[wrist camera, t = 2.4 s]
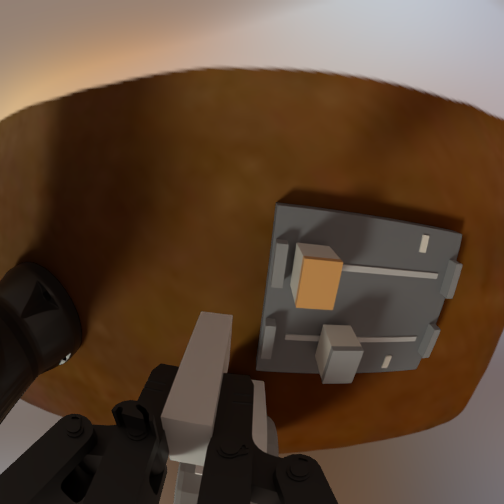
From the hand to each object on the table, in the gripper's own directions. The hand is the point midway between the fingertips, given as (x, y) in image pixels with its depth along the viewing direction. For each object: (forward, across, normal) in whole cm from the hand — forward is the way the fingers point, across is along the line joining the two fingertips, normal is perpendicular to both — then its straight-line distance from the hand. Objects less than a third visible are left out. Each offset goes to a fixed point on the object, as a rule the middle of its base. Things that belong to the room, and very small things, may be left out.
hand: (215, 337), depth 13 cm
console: (+15, +14, -4) cm, 21 cm away
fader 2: (+12, +11, -8) cm, 18 cm away
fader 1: (+12, +7, 0) cm, 14 cm away
